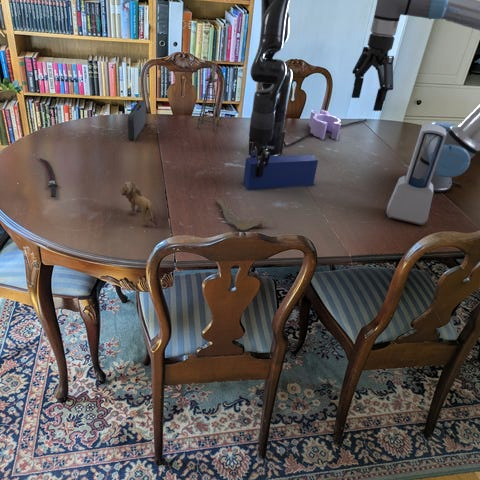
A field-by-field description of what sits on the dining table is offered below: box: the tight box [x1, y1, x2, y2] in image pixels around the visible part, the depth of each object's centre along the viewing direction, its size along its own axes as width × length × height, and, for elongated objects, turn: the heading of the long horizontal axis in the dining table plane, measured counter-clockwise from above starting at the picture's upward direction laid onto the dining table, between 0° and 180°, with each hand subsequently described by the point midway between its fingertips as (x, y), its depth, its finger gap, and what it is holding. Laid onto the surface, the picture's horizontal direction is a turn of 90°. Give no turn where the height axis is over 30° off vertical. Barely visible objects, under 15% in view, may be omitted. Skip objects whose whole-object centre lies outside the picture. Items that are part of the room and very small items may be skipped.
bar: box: [242, 154, 319, 191], centre depth 160 cm, size 25×5×10 cm, turn 109°
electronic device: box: [386, 123, 446, 226], centre depth 142 cm, size 12×8×30 cm, turn 71°
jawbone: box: [216, 198, 270, 232], centre depth 140 cm, size 9×20×2 cm, turn 50°
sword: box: [40, 158, 59, 198], centre depth 151 cm, size 31×3×1 cm, turn 26°
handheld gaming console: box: [127, 99, 147, 141], centre depth 190 cm, size 23×3×10 cm, turn 178°
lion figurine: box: [119, 181, 159, 227], centre depth 134 cm, size 15×5×9 cm, turn 50°
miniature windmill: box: [196, 55, 220, 132], centre depth 197 cm, size 9×8×30 cm
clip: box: [308, 109, 342, 141], centre depth 212 cm, size 20×12×7 cm, turn 11°
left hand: (256, 172), depth 158 cm, fingers closed on bar, 5 cm apart
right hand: (365, 103), depth 154 cm, fingers open, 13 cm apart
